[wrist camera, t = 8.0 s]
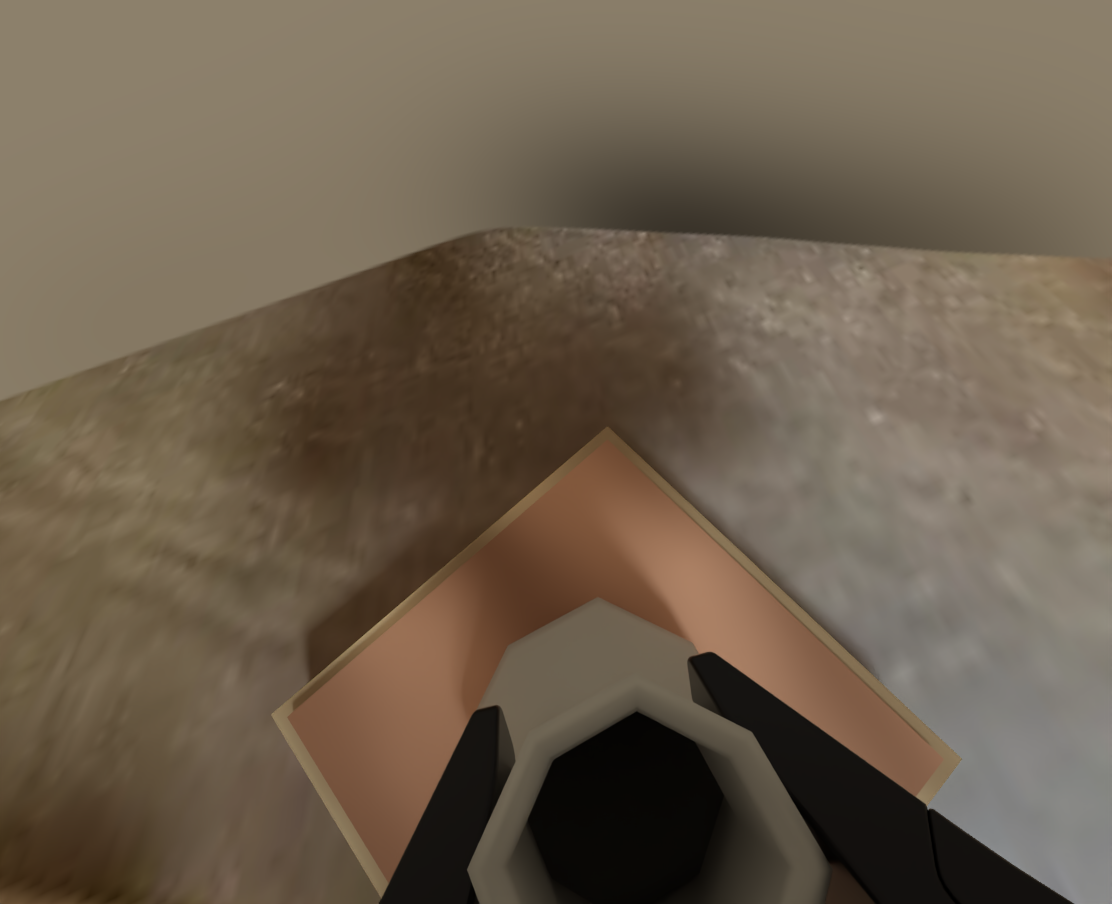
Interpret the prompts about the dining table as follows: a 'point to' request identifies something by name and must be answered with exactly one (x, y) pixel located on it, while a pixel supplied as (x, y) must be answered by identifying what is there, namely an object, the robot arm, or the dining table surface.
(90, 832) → the dining table surface
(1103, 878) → the dining table surface
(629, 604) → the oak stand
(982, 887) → the robot arm
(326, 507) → the dining table surface
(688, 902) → the flask
